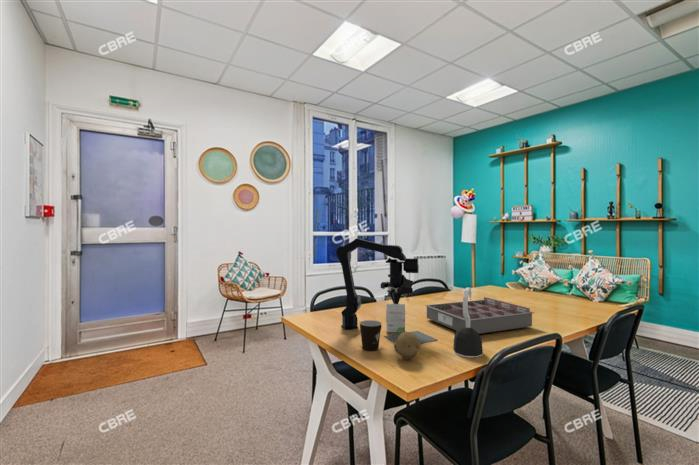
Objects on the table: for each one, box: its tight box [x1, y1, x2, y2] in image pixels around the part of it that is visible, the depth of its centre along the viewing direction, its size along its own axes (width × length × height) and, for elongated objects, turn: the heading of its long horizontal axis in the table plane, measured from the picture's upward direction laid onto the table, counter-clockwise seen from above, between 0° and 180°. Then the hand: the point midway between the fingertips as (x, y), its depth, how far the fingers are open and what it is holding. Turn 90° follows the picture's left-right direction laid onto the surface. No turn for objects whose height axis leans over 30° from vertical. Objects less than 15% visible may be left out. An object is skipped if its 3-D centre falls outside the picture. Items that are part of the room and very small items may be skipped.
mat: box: [383, 330, 438, 344], centre depth 145 cm, size 18×14×1 cm
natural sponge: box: [393, 331, 421, 360], centre depth 121 cm, size 9×9×10 cm
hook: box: [452, 287, 484, 358], centre depth 128 cm, size 11×11×25 cm
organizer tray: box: [424, 296, 535, 335], centre depth 167 cm, size 32×40×10 cm
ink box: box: [385, 303, 406, 333], centre depth 153 cm, size 9×5×15 cm, turn 84°
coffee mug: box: [359, 319, 382, 352], centre depth 133 cm, size 12×9×10 cm
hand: (396, 306), depth 155 cm, fingers closed
